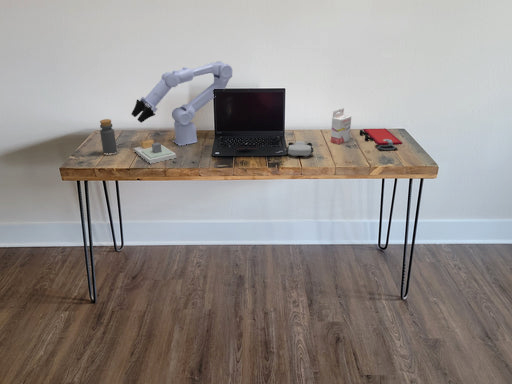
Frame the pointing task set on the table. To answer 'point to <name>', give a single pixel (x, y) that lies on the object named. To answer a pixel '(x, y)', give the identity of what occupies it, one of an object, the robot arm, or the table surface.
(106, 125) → the bottle
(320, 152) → the table surface
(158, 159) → the white layered base plate
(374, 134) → the red board with handle
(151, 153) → the cover
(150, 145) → the slider
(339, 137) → the ink cartridge box
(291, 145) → the robot toy
